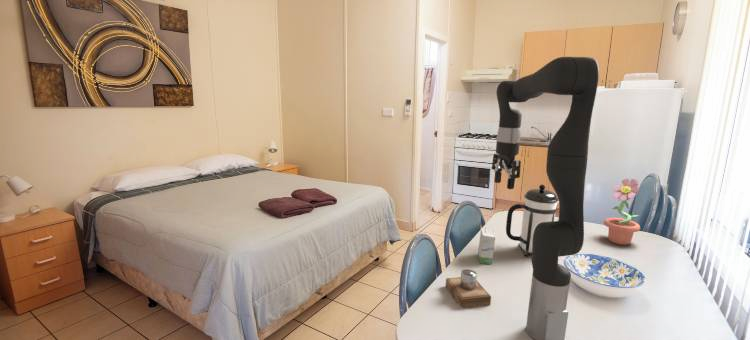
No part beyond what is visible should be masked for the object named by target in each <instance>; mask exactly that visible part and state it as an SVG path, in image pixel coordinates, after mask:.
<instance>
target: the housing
mask: <svg viewBox="0 0 750 340" xmlns="http://www.w3.org/2000/svg"><path fill="white" fill-rule="evenodd" d="M477 274H478V273H477V271H475V270H474V269H468V268H466V269H462V270H461V271H460V277H461V281H460V287H461V288H462V289H464V290H468V291H472V290H475V288H476V280H477V277H478V276H477Z"/></svg>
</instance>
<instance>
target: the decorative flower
mask: <svg viewBox="0 0 750 340" xmlns="http://www.w3.org/2000/svg"><path fill="white" fill-rule="evenodd" d="M639 189H640V185H639V181H638V180H636V179H635V178H632V179H630V178H623V179H622V180H621V185H618V184H616V185H614V186H613V192H615V193H613V197H614V198H615V199H618V201H621V202H620V204H619V206H618V205H616V206H613V207H612V208H611V209H612V210H617V213H618V214H619V215H620V216H621V217H608V218H606V219H604V221H603V224H604V226H605V227H607V228H608V240H609V241H610V242H612V243H614V244H617V245H622V246H623V245H624V246H626V245H630V244H631V242H632V240H633V235H634V233H635V232H636V233H637V232H639V231H641V225H640V224H638V222H635V221H633V220H632V218H635V217H638V216H640V215H639V214H633V215H631V214H629V213H627V212H625V211H623V209H624V207H626V208H627V210H630V209H629V207H630V206H629V203H628V201H629V200H631V199H633V198H634V197H635V196H637V193H638V192H639ZM622 217H624V218H622Z"/></svg>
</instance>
